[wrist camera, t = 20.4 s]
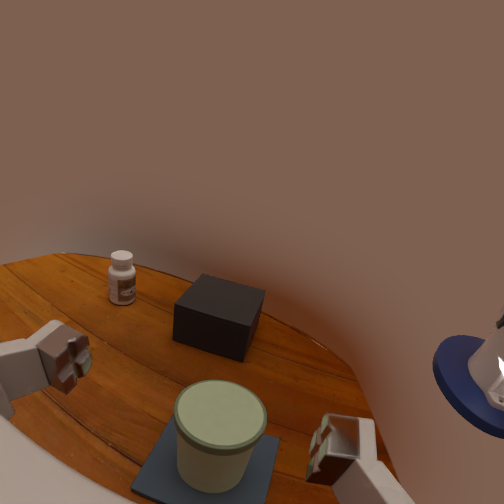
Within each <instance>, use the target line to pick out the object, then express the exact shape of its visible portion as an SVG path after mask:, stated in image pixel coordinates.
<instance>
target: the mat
mask: <svg viewBox="0 0 504 504" xmlns="http://www.w3.org/2000/svg"><path fill="white" fill-rule="evenodd" d="M279 441H280V438H277V437H273V436H268V435H264V434H263V435H262V437H261V439H260V440H259V441H258V443H257V444H256V445H255V446H254V449H253V451H252V454H251V456H250V459H249V461H248V464H247V466H246V469H245V471H244V474H243V476H242V478H241V480H240V482H239V483H238V484H237V485H236V486H235V487H233V488H232V489H230V490H228V491H225V492H221V493H206V492H202V491H199V490H196V489H194V488H192V487H191V486H189V485H188V484H187V483H186V482H185V481H184V480H183V479H182V478H181V476H180V474H179V472H178V468H177V429H176V427H175V423H174V414H173V415H172V417H171V419H170V420H169V422H168V424H167V426H166V427H165V429H164V431H163V432H162V434H161V436H160V438H159V439H158V441H157V443H156V444H155V446H154V448H153V450H152V451H151V453H150V455H149V456H148V458H147V460H146V461H145V463H144V465H143V467H142V468H141V470H140V472H139V473H138V475H137V477H136V478H135V480H134V482H133V483H132V485H131V487H130V488H131V491H132V492H135V493H137V494H139V495H141V496H143V497H145V498H148V499H150V500H152V501H155V502H157V503H160V504H265V500H266V496H267V492H268V488H269V484H270V480H271V476H272V472H273V467H274V463H275V459H276V454H277V450H278V445H279Z"/></svg>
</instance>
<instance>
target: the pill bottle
mask: <svg viewBox="0 0 504 504" xmlns="http://www.w3.org/2000/svg"><path fill="white" fill-rule="evenodd" d="M132 264H133V255H132V254H131V253H130V252H128V251H115V252H113V253H112V254H111V266H110V267H109V270H108V278H109V298H110V300H111V301H112V302H113V303H115V304H118V305H128V304H130V303H132V302H133V301H134V300H135V281H136V280H135V277H136V271H135V268H134V267H133V266H132Z"/></svg>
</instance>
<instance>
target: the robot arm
mask: <svg viewBox="0 0 504 504" xmlns="http://www.w3.org/2000/svg"><path fill="white" fill-rule="evenodd" d="M88 345H89V340H88V336H86V335H84V334H83V333H81V332H79V331H77V330H75V329H73V328H71V327H69V326H68V325H66V324H64V323H62V322H60V321H58V320H51V321H50V322H49V323H47V324H46V325H45V326H43V327H42V328H41V329H39V330H38V331H37V332H35V333H34V334H33V335H32V336H30V337H29V338H28V339H26V340H25V339H18V340H13V341H8V342H2V343H0V504H137V503H135V502H133V501H130V500H128V499H126V498H124V497H122V496H120V495H118V494H116V493H114V492H112V491H110V490H108V489H107V488H105V487H103V486H101V485H99V484H97V483H96V482H94V481H92V480H90V479H89V478H87V477H85V476H84V475H82V474H80V473H79V472H77V471H75V470H74V469H72V468H71V467H69V466H68V465H66V464H64V463H63V462H61V461H60V460H59V459H57V458H56V457H54V456H53V455H51V454H50V453H48V452H47V451H46V450H44V449H43V448H42V447H40V446H39V445H38V444H36V443H35V442H34V441H32V440H31V439H30V438H28V437H27V436H26V435H25V434H23V433H22V432H21V431H20V430H19V429H17V428H16V427H15V426H14V425H13V424H11V423H10V422H9V421H8V420H9V419H10V418H11V417H12V416H13V415H14V414H15V410H14V408H13V406H12V405H11V403H10V401H12V400H14V399H17V398H20V397H22V396H25V395H28V394H30V393H33V392H36V391H38V390H41V389H44V388H46V387H49V386H50V385H51V386H52V387H54V388H56V389H57V390H59V391H61V392H62V393H64V394H66V395H67V394H68V393H69V392H70V391H71V390H72V389H73V388H74V387H75V386H76V385H77V378H81V377H84V376H85V375H86V374H87V373H88V372H89V369H90V367H91V365H92V356H91V353H90V351H89V350H88V348H87V347H88ZM468 370H469V373H470V375H471V377H472V378H473V380H474V381H475V383H476V384H477V385H478V386H479V388H480V389H481V390H482V391H483V393H484V394H485V397H486V399H487V401H488V403H489V404H490V405H491V406H492V407H494V408H496V409H499V410H502V411H504V305H503V307H502V310H501V312H500V314H499V316H498V318H497V322H496V325H495V327H494V329H493V330H492V332H491V333H490V335H489V336H488V338H487V339H486V340H485V342H484V343H483V344H482V345H481V347H480V348H479V349H478V350H477V351H476V352H475V353H474V354H473V355H472V356H471V357H470V358H469V360H468ZM309 455H310V456H311V458H312V459H311V461H310V462H309V464H308V466H307V474H306V482H309V483H315V484H321V485H328V486H331V488H332V490H333V492H334V494H335V496H336V498H337V500H338V502H339V504H415V503H414V501H413V500H412V499H411V498H410V496H409V495H408V494H407V493H406V492H405V490H404V489H403V488H402V486H401V485H400V484H399V483H398V481H397V480H396V479H395V478H394V476H393V475H392V474H391V473H390V471H389V470H388V469H387V467H386V466H385V465H384V464H383V462H382V461H377V451H376V438H375V427H374V421H373V419H366V418H359V417H352V416H345V415H338V414H332V413H326V414H325V415H324V416H323V418H322V422H321V426H320V427H318V428H317V429H316V431H315V433H314V435H313V438H312V441H311V445H310V451H309Z"/></svg>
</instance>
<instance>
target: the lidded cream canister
mask: <svg viewBox="0 0 504 504" xmlns="http://www.w3.org/2000/svg"><path fill="white" fill-rule="evenodd" d="M174 423H175V427H176V429H177V468H178V472H179V474H180V476H181V478H182V479H183V480H184V481H185V482H186V483H187V484H188V485H189V486H191V487H192V488H194V489H196V490H199V491H202V492H206V493H221V492H225V491H228V490H230V489H232V488H233V487H235V486H236V485H237V484H238V483H239V482H240V480H241V478H242V476H243V474H244V471H245V469H246V466H247V464H248V461H249V459H250V456H251V454H252V451H253V449H254V446H255V445H256V444H257V443H258V441H259V440H260V439H261V437H262V435H263V432H264V430H265V427H266V423H267V413H266V410H265V407H264V405H263V403H262V402H261V400H260V399H259V398H258V397H257V396H256V395H255V394H254V393H253V392H251V391H250V390H249V389H247V388H245V387H243V386H241V385H239V384H236V383H233V382H229V381H224V380H206V381H201V382H197V383H194V384H192V385H190V386H188V387H187V388H185V389H184V390H183V391H182V392H181V393H180V394H179V396H178V397H177V399H176V401H175V404H174Z"/></svg>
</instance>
